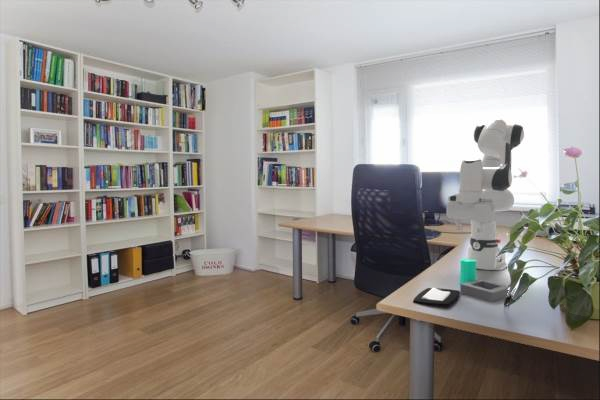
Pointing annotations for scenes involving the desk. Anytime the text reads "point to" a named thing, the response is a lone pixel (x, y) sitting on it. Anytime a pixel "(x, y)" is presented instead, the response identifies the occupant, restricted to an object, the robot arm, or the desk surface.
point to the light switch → (437, 297)
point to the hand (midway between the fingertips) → (469, 231)
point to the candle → (467, 270)
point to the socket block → (484, 290)
